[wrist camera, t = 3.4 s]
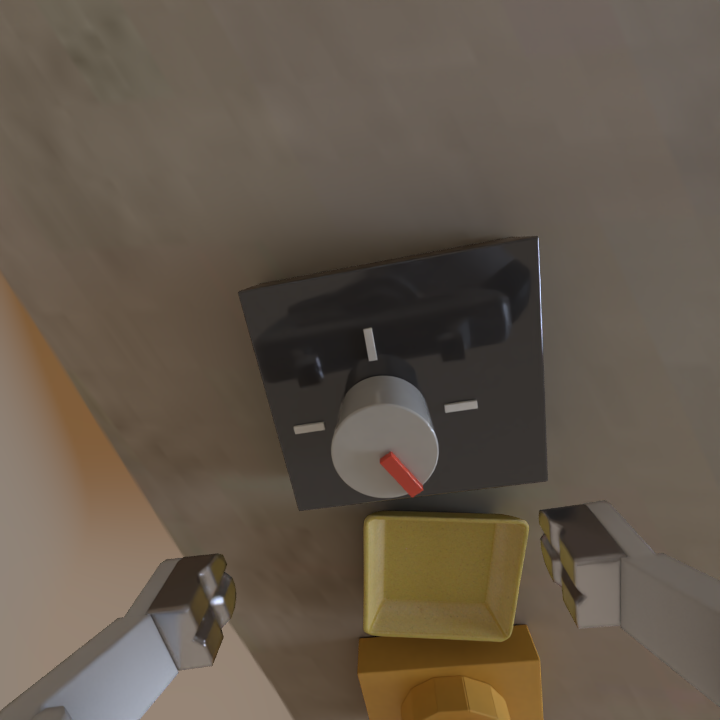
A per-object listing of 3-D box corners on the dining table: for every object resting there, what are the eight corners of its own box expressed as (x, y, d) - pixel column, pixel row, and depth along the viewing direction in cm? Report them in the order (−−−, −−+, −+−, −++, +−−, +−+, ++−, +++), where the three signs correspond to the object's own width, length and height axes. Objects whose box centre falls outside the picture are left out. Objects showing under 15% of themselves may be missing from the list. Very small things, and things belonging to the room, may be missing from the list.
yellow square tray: (364, 490, 21) (363, 516, 19) (517, 495, 21) (532, 522, 19) (364, 603, 24) (362, 636, 22) (499, 609, 24) (510, 643, 22)
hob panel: (512, 236, 17) (541, 235, 14) (524, 447, 20) (550, 484, 17) (259, 283, 18) (235, 292, 15) (309, 475, 21) (297, 514, 18)
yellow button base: (526, 623, 24) (554, 696, 20) (531, 706, 26) (557, 785, 22) (358, 637, 25) (355, 709, 21) (378, 715, 27) (378, 792, 24)
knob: (320, 410, 17) (306, 450, 13) (390, 356, 16) (392, 385, 13) (377, 471, 17) (377, 522, 14) (447, 423, 16) (463, 466, 13)
